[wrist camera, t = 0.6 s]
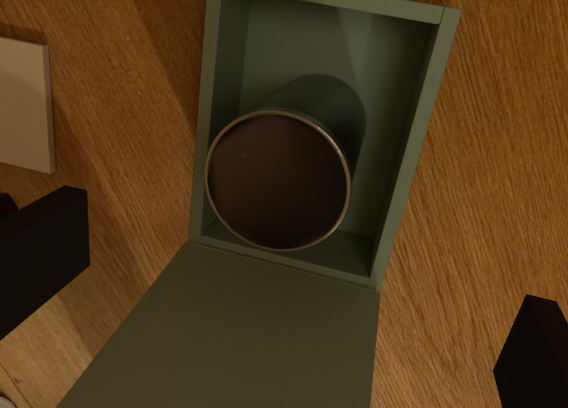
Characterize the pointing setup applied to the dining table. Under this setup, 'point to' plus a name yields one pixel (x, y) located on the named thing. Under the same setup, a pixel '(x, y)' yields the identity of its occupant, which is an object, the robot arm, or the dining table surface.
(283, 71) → the chest
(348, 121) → the metal-rimmed black canister
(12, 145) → the plate
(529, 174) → the dining table surface
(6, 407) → the long cone
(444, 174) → the dining table surface
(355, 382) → the chest lid
